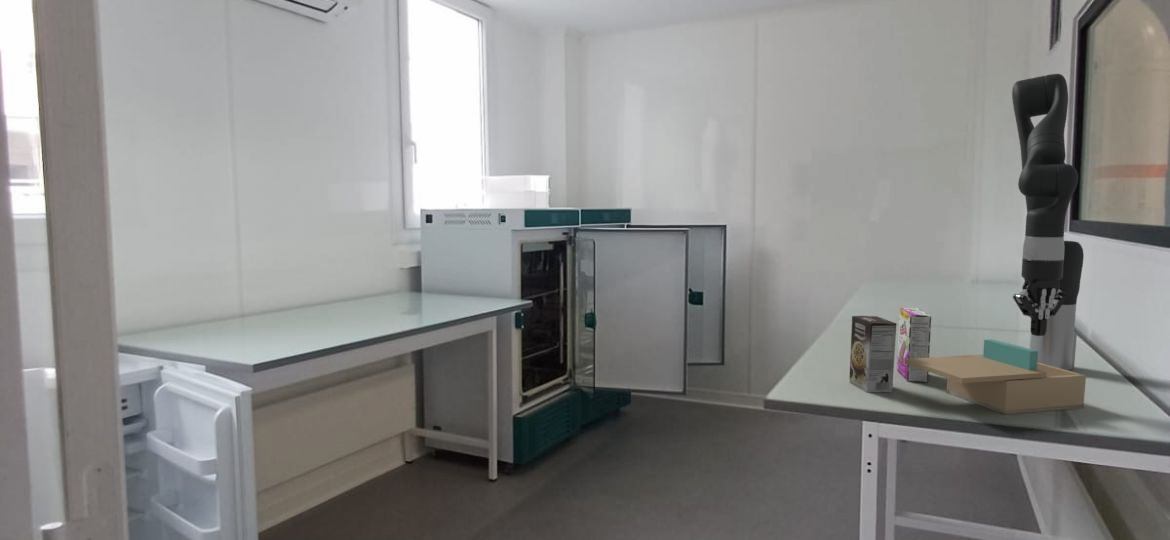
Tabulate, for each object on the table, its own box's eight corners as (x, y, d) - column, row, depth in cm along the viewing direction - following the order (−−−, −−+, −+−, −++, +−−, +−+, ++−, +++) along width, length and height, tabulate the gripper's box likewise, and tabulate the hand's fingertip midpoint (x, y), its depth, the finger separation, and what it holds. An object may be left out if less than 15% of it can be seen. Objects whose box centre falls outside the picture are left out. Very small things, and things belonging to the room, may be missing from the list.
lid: (982, 358, 157) (983, 337, 156) (1046, 377, 141) (1048, 353, 140) (904, 363, 152) (905, 341, 152) (961, 383, 136) (963, 358, 136)
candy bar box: (895, 370, 175) (898, 307, 173) (916, 371, 174) (919, 307, 172) (906, 381, 164) (910, 314, 163) (928, 383, 163) (932, 315, 162)
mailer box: (1019, 387, 160) (1021, 358, 159) (1083, 407, 144) (1086, 375, 144) (946, 392, 155) (948, 362, 154) (1004, 414, 140) (1007, 380, 139)
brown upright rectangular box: (847, 381, 164) (850, 315, 162) (873, 381, 165) (876, 315, 163) (866, 392, 155) (870, 322, 153) (893, 392, 155) (897, 322, 154)
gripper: (1051, 254, 154) (1046, 330, 156) (1003, 256, 151) (999, 333, 153) (1083, 257, 147) (1077, 336, 149) (1033, 260, 144) (1028, 341, 146)
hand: (1038, 335), depth 151 cm, fingers closed
